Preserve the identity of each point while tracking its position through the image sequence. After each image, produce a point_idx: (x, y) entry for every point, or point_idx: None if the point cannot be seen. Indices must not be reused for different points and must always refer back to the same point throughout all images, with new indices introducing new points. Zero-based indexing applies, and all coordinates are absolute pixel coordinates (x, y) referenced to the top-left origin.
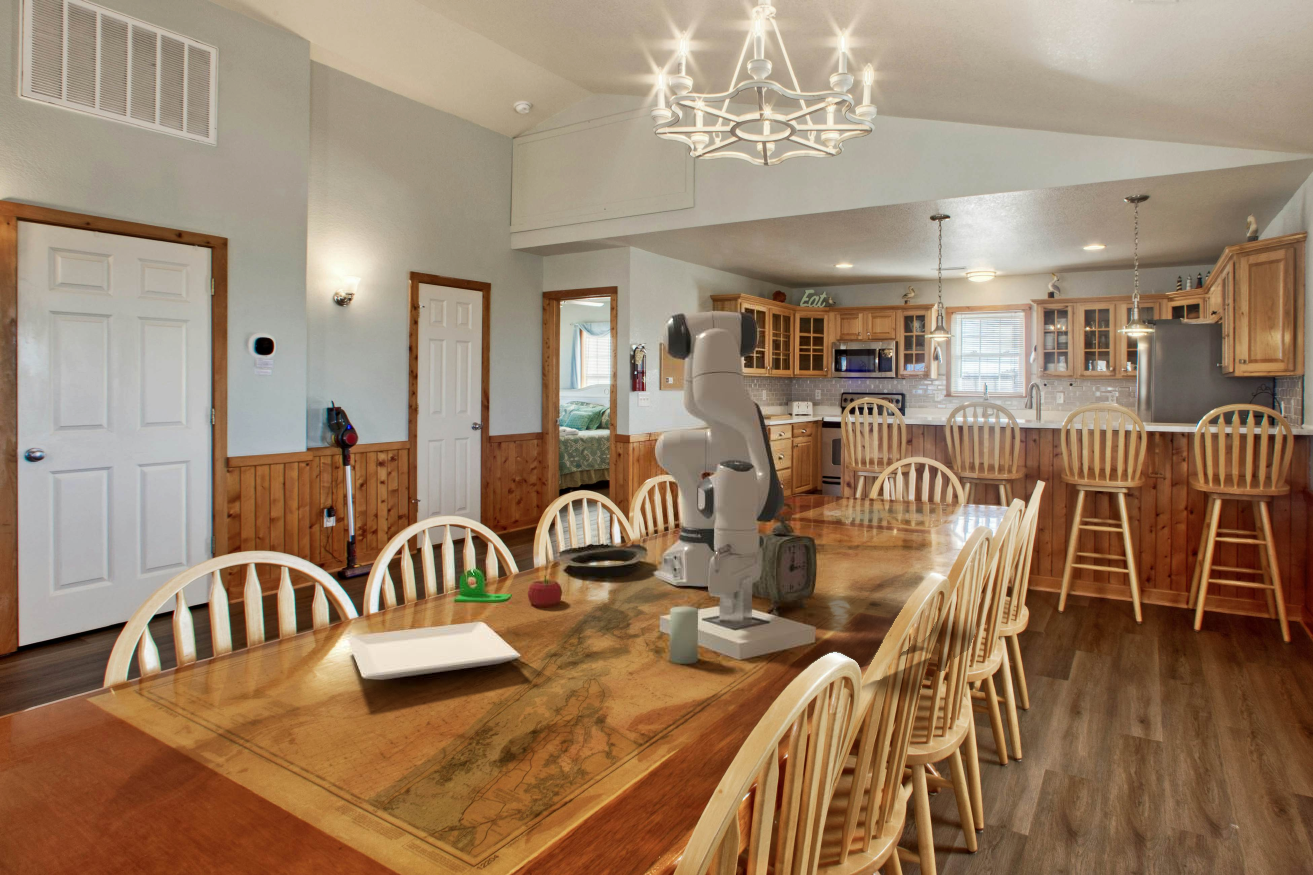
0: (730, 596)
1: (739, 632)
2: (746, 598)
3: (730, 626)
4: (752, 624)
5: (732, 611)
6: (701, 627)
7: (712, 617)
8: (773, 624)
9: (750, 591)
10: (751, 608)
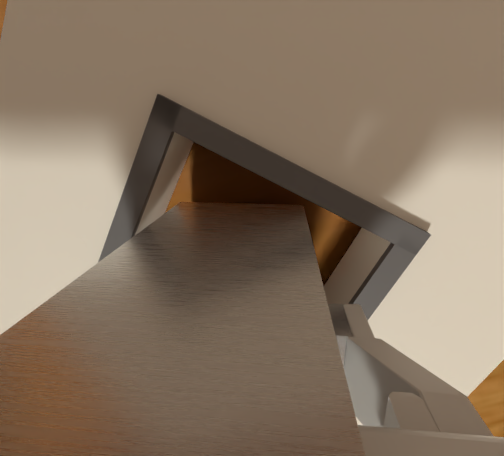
0: (476, 425)
1: (466, 187)
2: (228, 289)
3: (384, 268)
4: (283, 169)
5: (362, 313)
6: None
7: None
8: (181, 58)
9: (86, 312)
10: (140, 239)
